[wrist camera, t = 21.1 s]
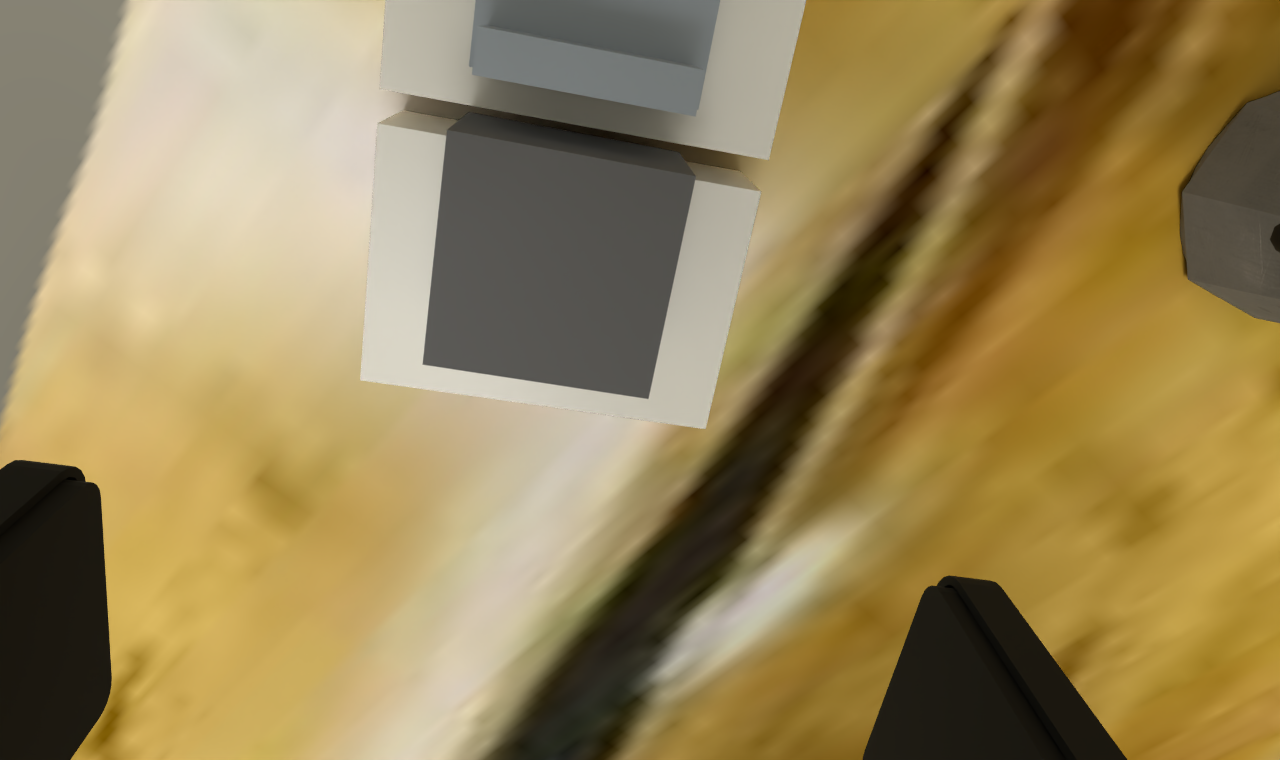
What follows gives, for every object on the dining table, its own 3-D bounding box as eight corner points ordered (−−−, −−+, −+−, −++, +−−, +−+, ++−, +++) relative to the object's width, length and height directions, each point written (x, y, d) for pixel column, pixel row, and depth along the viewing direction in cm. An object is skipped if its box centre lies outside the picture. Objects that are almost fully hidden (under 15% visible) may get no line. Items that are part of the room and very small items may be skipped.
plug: (634, 316, 32) (648, 399, 25) (458, 287, 31) (422, 364, 24) (670, 139, 30) (695, 176, 23) (479, 103, 29) (446, 129, 22)
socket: (692, 385, 34) (705, 429, 31) (385, 339, 33) (360, 380, 29) (806, -126, 28) (840, -148, 24) (427, -212, 26) (402, -250, 22)
